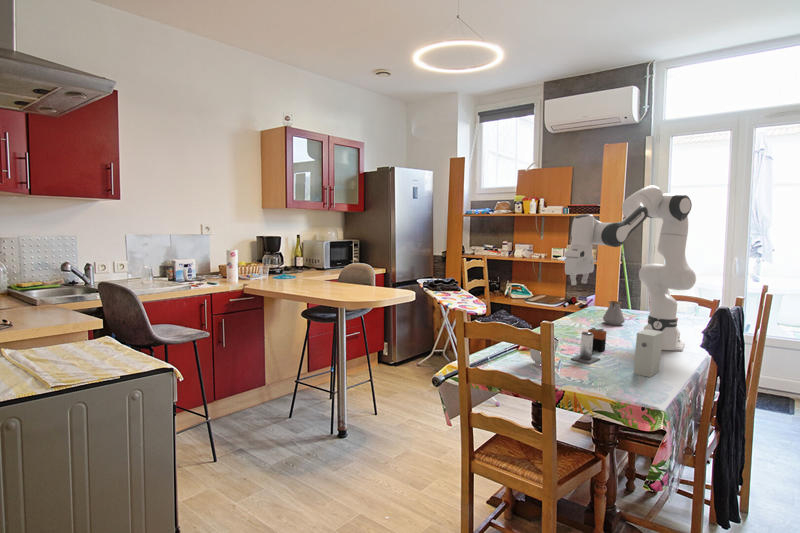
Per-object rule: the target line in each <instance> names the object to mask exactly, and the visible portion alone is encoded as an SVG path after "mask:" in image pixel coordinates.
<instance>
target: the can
mask: <svg viewBox="0 0 800 533" xmlns="http://www.w3.org/2000/svg"><path fill="white" fill-rule="evenodd" d="M580 336H581V337H580V350H579V355H580V358H581V359H583V360H591V359H592V357H593V350H592V346H593V333H591V332H588V331H582V332H581V335H580Z"/></svg>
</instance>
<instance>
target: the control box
mask: <svg viewBox="0 0 800 533" xmlns="http://www.w3.org/2000/svg"><path fill="white" fill-rule="evenodd" d="M662 337H663V332H660V331H654V330H649V329H645V330H644V329H643V330H640V331H638V332H636V338H635V340H636V342H635V352H634V353H635V354H634V365H633V374H635V375H639V376H644V377H646V376H647V377H648V378H652V377H653V376H655V375H657V374H658V373H660V369H661V358H662V356H661V355H662V350H661V347H662Z"/></svg>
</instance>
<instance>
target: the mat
mask: <svg viewBox="0 0 800 533" xmlns="http://www.w3.org/2000/svg"><path fill="white" fill-rule="evenodd" d="M570 360H571V361H574V362H579V363H583V364H585V365H592V364H594V363H596V362H598V361H601V357H596V356H592V359H591V360H583V359H581V358H580V354H579V355H576V356H573V357H571V358H570Z"/></svg>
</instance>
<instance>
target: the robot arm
mask: <svg viewBox="0 0 800 533" xmlns="http://www.w3.org/2000/svg"><path fill="white" fill-rule="evenodd" d="M692 204H693V203H692V200H691V198H690V197H689V196H688V195H686V194H683V193H663V191H662V189H661V188H660V187H658V186H656V185H648V186H645V187H643V188H641V189H639V190H637V191H635V192H634V193H632V194H630V195H629V196H627V198H626V199H625V200H624V201H623V202H622V206H621V210H622V213H623V215H624V216H625V218H624V219H622V220H621V221H617V222H602V221H599V220H597V219H596V218H595V217H594V215H593V214H590V213H584V214H583V213H581V214H578V215H575V216H574V218H573V220H572V225H571V234H570V236H571V242H570V247H569V248H568V249H567V250H566V251H565V252H564V257H565V259H564V273H565V275H566V276H567V275H568V276H569V278H570V284H571V286H577V284H578V281H577V279H576V278H577V276H578V275H582V277H581V278H582V279H581V284H584V285H585V284H587V283H588V279H589V274H591V273H593V272H594V270H595V258H594V255H593V248H594V247H593V245H600V246H606V247H607V246H608V247H613V248H618V247H621V246H623V245H624V243H625V242H626V241H627V240H628V238H629V236H630V235H631V234H632V233H633V232H634V231H635V230H636V229H637V228H638V227H639V226H640V225H641V224H642V223H643V222H645V220H646V219H647V218H648V219H649V218H650V219H661V220H662V225H661V227H660V233H659V236H658V238H659V239H658V244H657V252H658V253H659V254H660V255H661V256H662V257H663V258H664V262H665V263H664V264H662V263H646V264H643V265H642V266H641V267H640V269H639V272H638V277H639V278H638V279H639V280H640V282H641V283H642V284H643V285H644V286H645V288H646V290H647V292H648V296H649V314H648V316H647V324H646V325H644V326H643V330H645V329H649V330H654V331H660V332H663V337H662V347H661V351H677V352H678V351H679V352H682V351H683V350H684V347H685V345H686V344H685V342H684V341H681V338H680V337H681V332H680V330H679V329H678V327H677V326H678V319H679V318H678V317H677V311H678V302H677V300H676V299H675V297H673V296H672V295H671V294H670V291H669V290H674V291H688V290H690V289H692V288H693V287H694V286H695V284H696V281H697V275H696V273H695V271H694V270H693V269H692V268H691V267H690V266H689V263H688V262H687V259H686V248H687V247H686V246H687V240H688V234H689V217H688V216H689V214H690V212H691V209H692Z"/></svg>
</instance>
